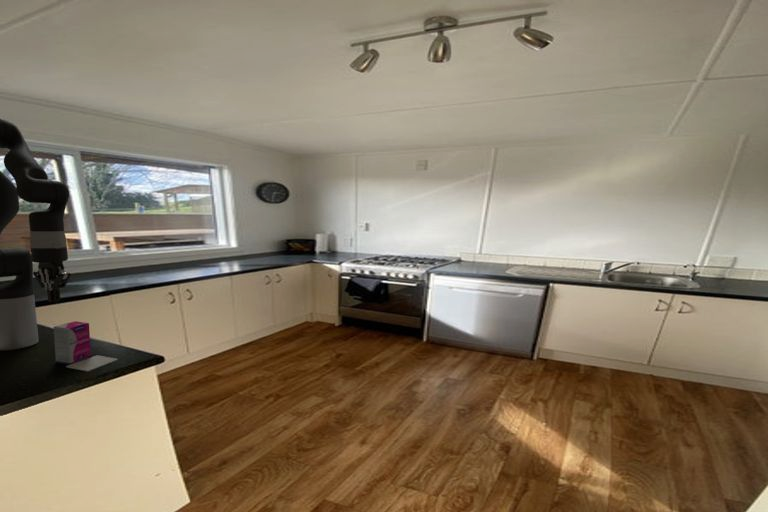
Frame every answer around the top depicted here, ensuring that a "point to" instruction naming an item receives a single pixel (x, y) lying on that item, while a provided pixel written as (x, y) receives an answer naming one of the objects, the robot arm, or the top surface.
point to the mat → (92, 363)
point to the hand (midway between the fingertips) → (54, 301)
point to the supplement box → (72, 342)
